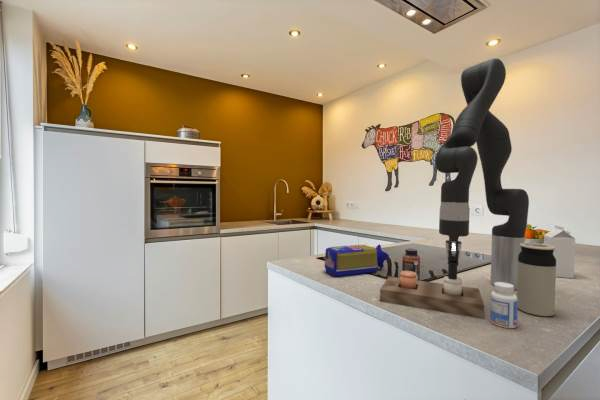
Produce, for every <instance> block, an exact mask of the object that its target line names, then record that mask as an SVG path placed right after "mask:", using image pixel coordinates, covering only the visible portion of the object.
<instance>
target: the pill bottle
mask: <svg viewBox="0 0 600 400" xmlns="http://www.w3.org/2000/svg"><path fill="white" fill-rule="evenodd" d="M493 289H494V290H492V291H491V292H490V322H491V323H492V324H494V325H496V326H498V327H501V328H505V329H515V328H516V327H517V326H518V308H517V304H518V300H517V294H515V293H514V292H515V290H514V286H513V285H512V284H509V283H504V282H495V283H494V285H493Z"/></svg>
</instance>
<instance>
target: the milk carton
mask: <svg viewBox="0 0 600 400" xmlns="http://www.w3.org/2000/svg"><path fill="white" fill-rule="evenodd" d="M543 235H544V236H543V244H546V245H551V246H554V247H555V249H554V252H553V255H554V257H555V258H556V278H565V279H574V278H575V257H576V256H575V255H576V254H575V252H576V238H575V237H574V236H572V235H571V232H570V231H569V230H568V229H565V227H563V226H558V225H555V226H554V228H553V229H551V230H550V231H548V232H546V233H545V234H543Z"/></svg>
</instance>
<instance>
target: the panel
mask: <svg viewBox="0 0 600 400" xmlns="http://www.w3.org/2000/svg"><path fill="white" fill-rule="evenodd" d="M481 294H482V293H481V292H480V289H479V288H478V287H469V286H464V285H462V296H455V295H448V294H444V283H439V282H433V281H427V280H426V281H424V280H419V281H418V280H416V290H414V289H408V288H401V287H400V277H394V276H387V278H386V280H385V281H384V282H383V284H382V286H381V287H380V290H379V300H380V302H384V303H390V304H395V305H396V304H397V305H403V306H408V307H413V308H419V309H425V310H430V311H431V310H432V311H438V312H442V313H443V312H444V313H449V314H455V315H461V316H467V317H471V318H479V319H485V315H484V314H485V304H484V302H483V301H484V300H483V298H482V295H481Z"/></svg>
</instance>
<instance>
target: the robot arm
mask: <svg viewBox="0 0 600 400" xmlns="http://www.w3.org/2000/svg"><path fill="white" fill-rule="evenodd" d="M506 76H507V71H506V66H505V63H504V62H503V61H502V60H501V59H499V58H491V59H487V60H486V61H482V62H479V63H477V64H474V65H473V66H468V67H467V68H465V69H464V70H463V71H462V73H461V74H460V84H461V88H462V89H461V90H462V92H463V97H464V100H465V102H466V106H465V108H463V109H462V110H461V112H460V113H459V115H458V116H457V117H456V120H455V122H454V125H453V128H452V130H451V133H450V135H449V136H448V137H447V138H446V140H445V141H444V143H443V144H442V145H441V146H440V147H439V149H438V151H437V153H436V155H435V158H434V166H435V168H436V170H437V171H438V172H440V173H442V174H453V173H456V174H457V175H456V177H455V178H454V179H452V180H449V181H445V182H443V183H442V184H441V186H440V187H441V188H440V205H439V221H438V223H439V224H438V225H439V226H438V233H439V234H440V235H442V236H448V240H447V239H446V240H445V248H446V251H445V252H446V256H445V257H446V258H447V266H448V267H447V268H448V271H447V276H448V278H449V279H455V280H456V279H457V277H458V266H459V260H460V258H461V250H462V241H460V240H459V238H460V237H468V236H469V233H470V205H469V204H470V203H469V201H470V187H471V183H472V179H473V177H474V175H475V174H474V173H475V171H476V168H477V165H478V160H480V164H481V168H482V169H481V170H482V174H483V181H484V191H485V201H486V205H487V210H488V211H489V212H490V213H491V214H493V215H495V216H508V219H507V221H506V222H504V223H502V224H498V225H497V224H496V225H494V226H493V227H492V228H491V249H490V250H491V254H490V255H491V256H490V259H491V260H490V284H491V285H492V286H494V283H495V282H504V283H509V284H512V285H513V286H514V291H515V290H516V291H517V279H518V255H519V253H520V252H521V251H522V250H521V246H520V243H526V242H525V241H526V231H527V227H528V217H529V206H530V201H529V200H530V199H529V198H530V197H529V194H528V193H527V191H526V190H525V189H522V188H503V185H502V180H501V179H502V173H503V170H504V168H505V166H506V164H507V163H508V161H509V159H510V156H511V155H512V154H511V153H512V150H513V147H512V142H511V136H510V131H509V128H508V127H507V126H506V124H504V122H502V121H501V120H500V119H499V118H498V117H496V115H494V114H493V113H492V112H491V111H490V109H491V107H492V105H493V104H494V102H495V100H496V99H497V97H498V94H500V92H501V90H502V88H503V86H504V84H505V81H506V78H507V77H506ZM475 144H476V146H477V147H476V148H477V152H476V149H475V148H473V146H474V145H475ZM478 157H479V158H478Z"/></svg>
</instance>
